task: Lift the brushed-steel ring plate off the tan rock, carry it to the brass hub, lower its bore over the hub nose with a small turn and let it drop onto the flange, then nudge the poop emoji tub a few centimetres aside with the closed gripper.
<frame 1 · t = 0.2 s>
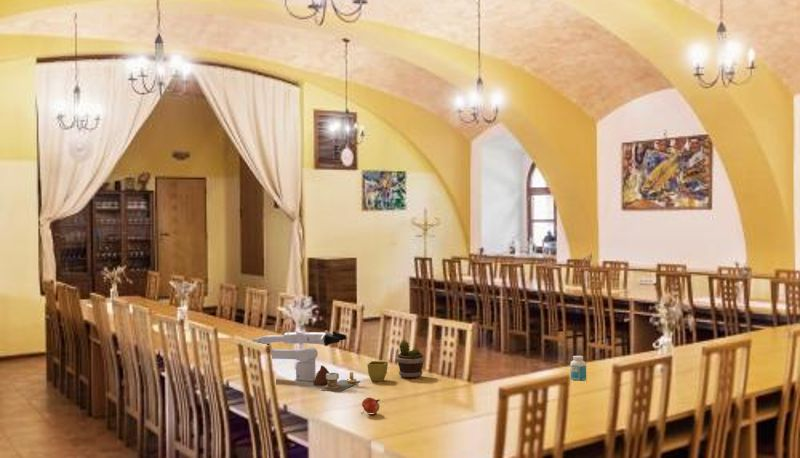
hand: (342, 338, 397), 22 cm above the table, tool horizontal, fingers open, 7 cm apart
tan rock: (332, 387, 382), resting on mat
hub: (351, 382, 393), resting on mat
pomegranate: (370, 415, 330), on the table
poop emoji: (323, 384, 393), on the table
pill bottle: (578, 384, 385), on the table
flower pot: (377, 381, 400), on the table
clutch plate: (332, 378, 382), point 5 cm above the table, touching tan rock
mat: (341, 385, 388), on the table
flowerpot: (410, 377, 407), on the table
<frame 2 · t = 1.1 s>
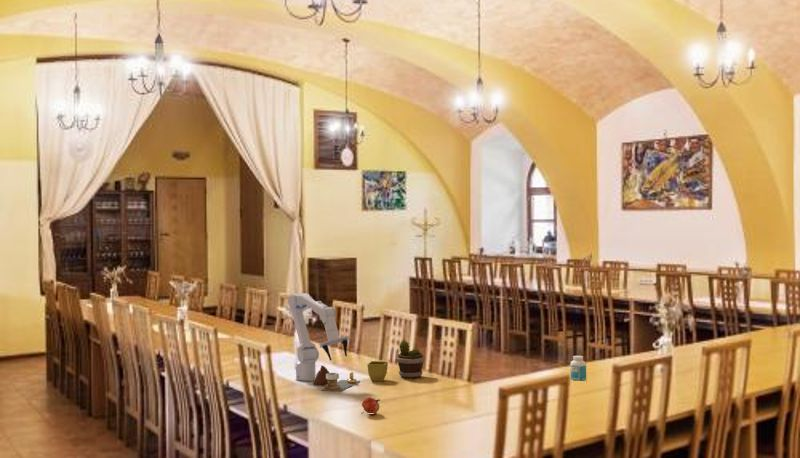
hand: (338, 358, 385), 14 cm above the table, tool tilted 20°, fingers open, 7 cm apart
nothing on the table moved.
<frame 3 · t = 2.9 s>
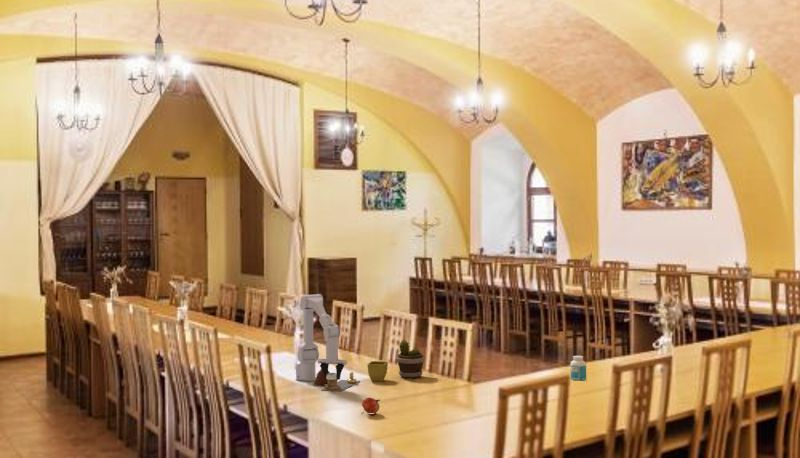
hand: (332, 379, 382), 5 cm above the table, tool pointing down, fingers closed on clutch plate, 6 cm apart
clutch plate: (332, 378, 382), point 5 cm above the table, touching gripper, tan rock
everything else where it was.
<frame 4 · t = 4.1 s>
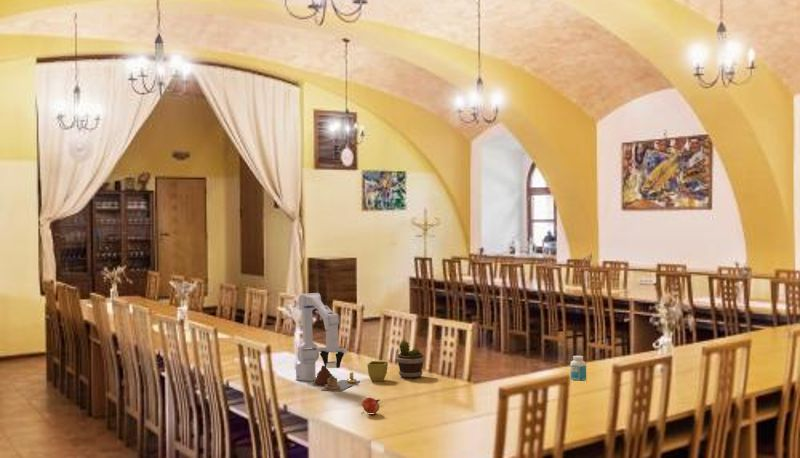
hand: (332, 367, 382), 10 cm above the table, tool pointing down, fingers closed on clutch plate, 6 cm apart
clutch plate: (332, 367, 382), point 10 cm above the table, touching gripper
everything else where it was.
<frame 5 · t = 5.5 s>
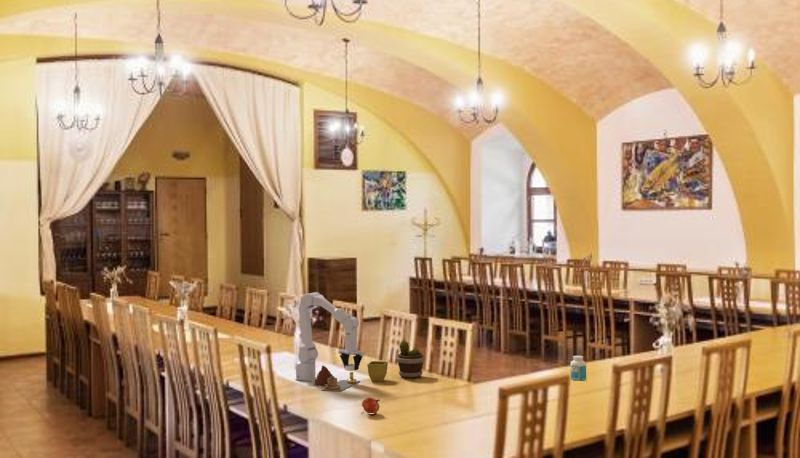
hand: (351, 369, 393), 7 cm above the table, tool pointing down, fingers closed on clutch plate, 6 cm apart
clutch plate: (351, 369, 393), point 7 cm above the table, touching gripper
everything else where it was.
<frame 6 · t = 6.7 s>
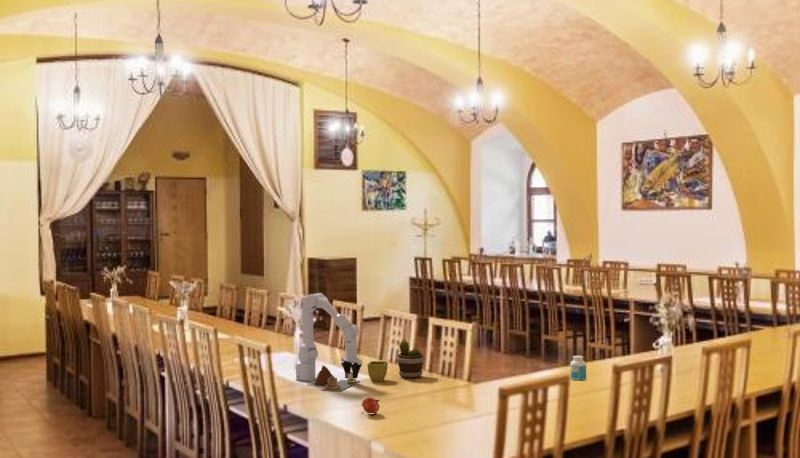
hand: (351, 377, 393), 3 cm above the table, tool pointing down, fingers closed on clutch plate, 5 cm apart
clutch plate: (351, 377, 393), point 3 cm above the table, touching gripper
everything else where it was.
when the fingers open (3 cm above the table, at t = 7.1 s): clutch plate drops 1 cm, resting on hub.
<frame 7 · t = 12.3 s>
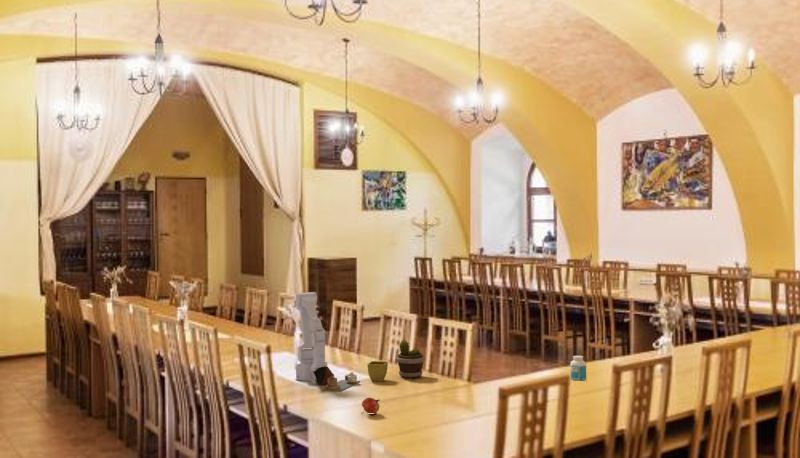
hand: (319, 383, 389), 1 cm above the table, tool pointing down, fingers closed
poop emoji: (325, 384, 394), on the table, touching gripper
clutch plate: (351, 379, 393), point 2 cm above the table, touching hub
everything else where it was.
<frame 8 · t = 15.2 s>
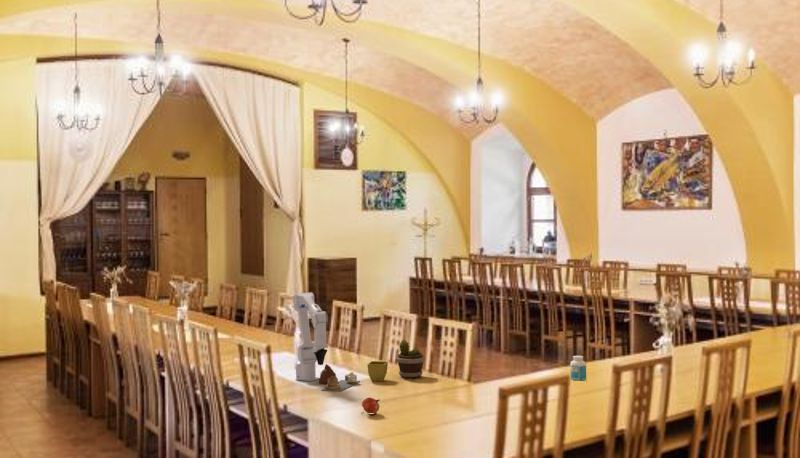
hand: (320, 364, 388), 10 cm above the table, tool pointing down, fingers closed
poop emoji: (327, 383, 396), on the table
everything else where it was.
at the end: clutch plate 0.4 cm off-centre on the hub, point 1.5 cm above the hub's base; clutch plate tilted 0°; poop emoji moved 3.6 cm from its start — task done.
